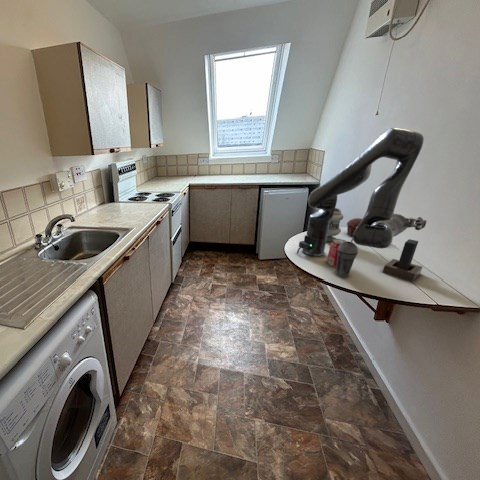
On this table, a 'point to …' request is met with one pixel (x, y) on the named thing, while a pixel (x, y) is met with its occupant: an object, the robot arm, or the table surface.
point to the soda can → (334, 252)
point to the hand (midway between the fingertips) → (405, 217)
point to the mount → (402, 270)
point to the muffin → (352, 226)
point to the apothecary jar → (334, 225)
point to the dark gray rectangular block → (407, 254)
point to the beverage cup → (345, 258)
